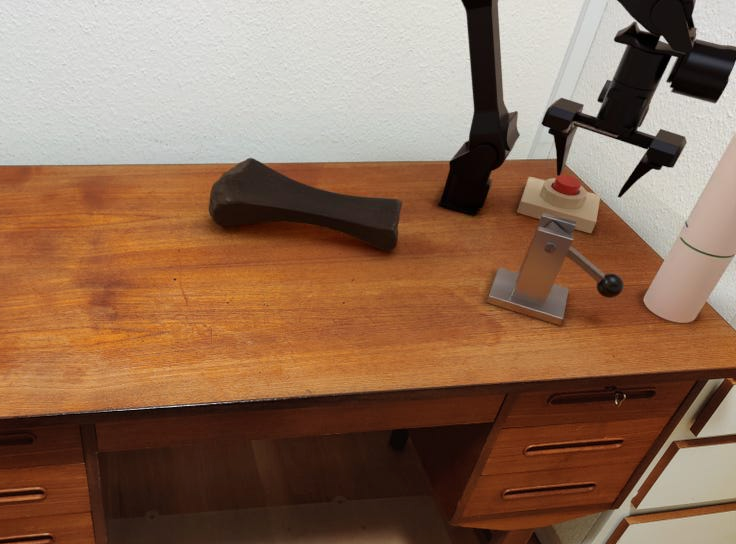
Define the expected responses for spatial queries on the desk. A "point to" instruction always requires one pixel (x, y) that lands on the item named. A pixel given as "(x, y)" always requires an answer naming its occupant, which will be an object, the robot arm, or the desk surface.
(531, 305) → the bracket
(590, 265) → the lever
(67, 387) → the desk surface
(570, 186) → the button
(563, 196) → the button box
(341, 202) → the dark brown bone
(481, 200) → the robot arm
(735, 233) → the cylindrical container
